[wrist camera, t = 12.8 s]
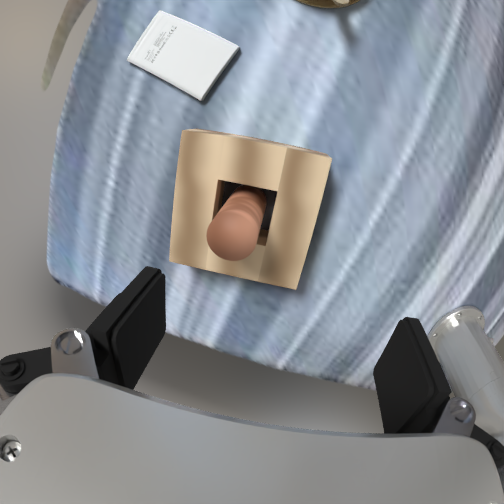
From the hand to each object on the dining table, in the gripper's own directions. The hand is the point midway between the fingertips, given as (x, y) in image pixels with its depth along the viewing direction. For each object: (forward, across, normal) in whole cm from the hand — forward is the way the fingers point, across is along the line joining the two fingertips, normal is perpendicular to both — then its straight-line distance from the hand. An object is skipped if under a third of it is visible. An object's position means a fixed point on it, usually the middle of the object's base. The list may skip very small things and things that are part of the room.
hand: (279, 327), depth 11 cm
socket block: (+27, +5, +3) cm, 28 cm away
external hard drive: (+27, +16, -15) cm, 35 cm away
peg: (+27, +5, +3) cm, 28 cm away
